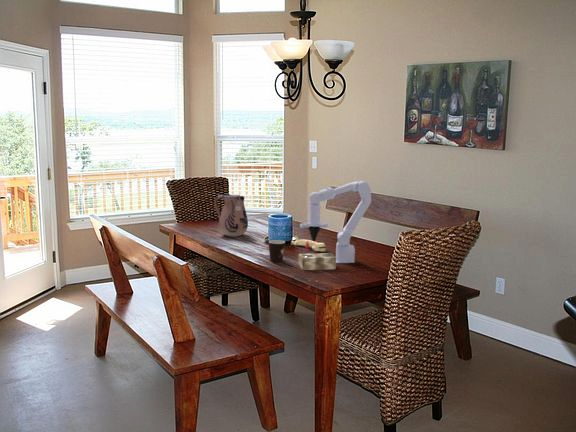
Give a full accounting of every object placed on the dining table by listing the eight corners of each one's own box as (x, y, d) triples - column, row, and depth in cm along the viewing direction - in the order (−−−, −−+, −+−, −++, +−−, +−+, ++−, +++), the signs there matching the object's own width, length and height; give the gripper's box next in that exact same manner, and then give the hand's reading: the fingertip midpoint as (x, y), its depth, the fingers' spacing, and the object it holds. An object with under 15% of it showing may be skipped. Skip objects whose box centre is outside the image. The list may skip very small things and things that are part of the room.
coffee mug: (274, 263, 301) (274, 244, 300) (264, 259, 308) (265, 241, 307) (292, 260, 308) (293, 241, 306) (283, 257, 315) (283, 238, 313)
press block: (330, 264, 302) (331, 253, 301) (335, 269, 294) (336, 257, 293) (298, 265, 299) (298, 253, 298) (302, 270, 290) (302, 258, 289)
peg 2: (329, 265, 300) (329, 254, 299) (331, 267, 296) (332, 256, 295) (320, 265, 299) (321, 254, 298) (323, 267, 295) (323, 256, 294)
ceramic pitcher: (246, 238, 357) (247, 198, 353) (211, 237, 358) (211, 197, 353) (248, 233, 375) (249, 194, 370) (215, 232, 375) (216, 193, 371)
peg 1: (310, 265, 298) (311, 255, 297) (313, 268, 294) (313, 257, 293) (302, 266, 297) (302, 255, 296) (304, 268, 293) (304, 257, 292)
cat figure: (288, 248, 342) (318, 253, 324) (287, 233, 341) (318, 237, 323) (300, 245, 349) (331, 250, 331) (300, 231, 348) (330, 235, 330)
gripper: (302, 216, 301) (301, 242, 303) (330, 216, 304) (329, 242, 306) (299, 214, 307) (298, 239, 310) (326, 214, 310) (325, 239, 313)
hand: (313, 240), depth 308 cm, fingers closed
